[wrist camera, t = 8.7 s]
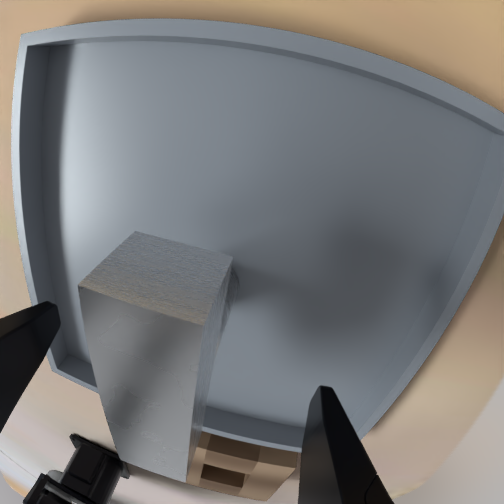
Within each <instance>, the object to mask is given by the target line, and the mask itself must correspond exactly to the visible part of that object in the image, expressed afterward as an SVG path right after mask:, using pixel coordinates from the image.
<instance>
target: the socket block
mask: <svg viewBox="0 0 504 504" xmlns="http://www.w3.org/2000/svg"><path fill="white" fill-rule="evenodd" d="M297 453H298V452H294V451H288V450H282V449H277V448H271V447H266V446H261V445H257V444H252V443H247V442H243V441H239V440H235V439H230V438H226V437H223V436H219V435H215V434H211V433H208V432H204V431H202V433H201V436H200V439H199V442H198V445H197V448H196V452H195V455H194V458H193V461H192V464H191V467H190V470H189V474H188V477H187V480H186V483H187V484H191V485H194V486H198V487H201V488H205V489H209V490H213V491H217V492H221V493H225V494H230V495H234V496H239V497H244V498H249V499H254V500H260V501H267V500H268V499H269V498H270V497H271V496H272V495H273V494H274V493H275V491H276V490H277V489H278V488H279V487H280V486H281V485H282V484H283V483H284V481H285V480H286V479H287V478H288V477H289V476H290V475H291V474H292V472H293V471H294V470H295V469H296V462H297ZM171 479H172V478H171ZM174 480H175V479H174ZM177 481H178V480H177ZM180 482H182V481H180ZM184 483H185V482H184Z"/></svg>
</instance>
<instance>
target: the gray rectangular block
mask: <svg viewBox="0 0 504 504" xmlns="http://www.w3.org/2000/svg"><path fill="white" fill-rule="evenodd" d="M233 258H234V256H232V255H228V254H224V253H220V252H216V251H212V250H208V249H204V248H200V247H196V246H192V245H188V244H184V243H180V242H177V241H173V240H169V239H165V238H161V237H157V236H153V235H149V234H145V233H141V232H137V231H135V232H134V233H132V234H131V235H130V236H129V237H128V238H127V239H126V240H125V241H123V242H122V243H121V244H120V245H119V246H118V247H117V248H116V249H115V250H114V251H113V252H111V253H110V254H109V255H108V256H107V257H106V258H105V259H104V260H103V261H102V262H101V263H100V264H99V265H98V266H96V267H95V268H94V269H93V270H92V271H91V272H90V273H89V274H88V275H87V276H86V277H85V278H84V279H83V280H82V281H81V282H80V283H79V284H78V292H79V299H80V306H81V312H82V318H83V324H84V329H85V335H86V340H87V345H88V350H89V354H90V359H91V363H92V367H93V372H94V376H95V380H96V384H97V388H98V391H99V395H100V399H101V402H102V406H103V409H104V413H105V416H106V419H107V422H108V426H109V429H110V432H111V435H112V438H113V441H114V444H115V447H116V449H117V452H118V455H119V458H120V460H122V461H125V462H127V463H130V464H132V465H135V466H137V467H140V468H143V469H145V470H148V471H151V472H154V473H157V474H160V475H163V476H166V477H169V478H172V479H175V480H178V481H182V482H185V483H186V480H187V477H188V474H189V470H190V467H191V464H192V461H193V458H194V455H195V452H196V448H197V445H198V442H199V439H200V436H201V433H202V429H203V423H204V417H205V411H206V405H207V400H208V394H209V388H210V382H211V377H212V371H213V366H214V360H215V357H216V354H217V351H218V348H219V345H220V342H221V340H222V337H223V334H224V331H225V328H226V325H227V322H228V319H229V316H230V313H231V310H232V308H233V305H234V302H235V299H236V296H237V293H238V290H239V279H238V276H237V274H236V272H235V271H234V269H233V268H232V263H233Z"/></svg>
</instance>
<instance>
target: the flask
mask: <svg viewBox="0 0 504 504" xmlns="http://www.w3.org/2000/svg"><path fill="white" fill-rule="evenodd" d="M62 474H63V473H61V472H59V471H55V470H53V471H49V472H48V474H47V475H49V476H50V477H51V478H52V479H54V480H55V481H57V482H58V481H59V479H60V478H61V476H62ZM48 490H49V491H52V492H53V493H55V494H57V495H58V496H60V497H62V498H63V499H65V500H67V501H68V502H70V503H71V500H70V499H68V498H66V497H65V496H63V495H61V494H60V493H58V492H56V491H55V490H53V489H52V488H50V487H49V488H48Z"/></svg>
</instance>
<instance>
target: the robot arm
mask: <svg viewBox="0 0 504 504" xmlns="http://www.w3.org/2000/svg"><path fill="white" fill-rule="evenodd" d="M60 326H61V319H60V315H59V310H58V306H57V305H56V304H55V303H53V302H50V301H44V302H42V303H39V304H37V305H34V306H31V307H29V308H26V309H24V310H21V311H19V312H16V313H13V314H11V315H8V316H6V317H3V318H1V319H0V433H1V431H2V429H3V427H4V425H5V424H6V422H7V420H8V418H9V416H10V415H11V413H12V411H13V409H14V408H15V406H16V404H17V402H18V401H19V399H20V397H21V395H22V394H23V392H24V390H25V389H26V387H27V385H28V384H29V382H30V380H31V379H32V377H33V376H34V374H35V372H36V371H37V369H38V368H39V366H40V364H41V363H42V361H43V359H44V357H45V356H46V354H47V352H48V350H49V348H50V346H51V344H52V342H53V340H54V338H55V336H56V334H57V332H58V331H59V329H60ZM70 439H71V441H72V443H73V445H74V446H75V448H76V450H75V452H74V454H73V455H72V457H71V459H70V461H69V463H68V465H67V466H66V468H65V470H64V472H63V474H62V476H61V478H60V479H59V481H58V482H57V481H55V480H54V479H52V478H51V477H50V476H49V475H47V474H46V475H45V474H43V473H41V474H40V476H39V478H38V480H37V481H36V483H35V485H34V486H33V487H32V489H31V490H30V492H29V493H28V494H27V496H26V497H25V499H24V500H23V504H72V503H70V502H68V501H67V500H65V499H63V498H62V497H60V496H58V495H57V494H55V493H53V492H52V491H49V490H48V488H49V487H50V488H52V489H53V490H55V491H56V492H58V493H60V494H61V495H63V496H65V497H66V498H68V499H70V500H71V501H73V502H75V503H77V504H108V503H109V501H110V499H111V496H112V494H113V492H114V489H115V487H116V485H117V483H118V480H119V478H120V476H121V477H123V478H126V479H129V477H130V475H129V472H128V470H127V467H126V464H125V461H122V460H120V458H119V456H118V455H116V454H113V453H111V452H109V451H107V450H104V449H102V448H100V447H98V446H96V445H94V444H91V443H89V442H87V441H85V440H83V439H81V438H79V437H77V436H75V435H73V434H71V435H70ZM298 504H394V502H393V501H392V499H391V498H390V496H389V494H388V492H387V491H386V489H385V487H384V485H383V483H382V481H381V480H380V478H379V476H378V475H377V472H376V470H375V468H374V466H373V464H372V462H371V460H370V458H369V456H368V454H367V453H366V451H365V449H364V447H363V445H362V443H361V441H360V439H359V437H358V435H357V433H356V431H355V429H354V427H353V425H352V424H351V422H350V420H349V418H348V416H347V414H346V412H345V410H344V408H343V406H342V404H341V402H340V401H339V399H338V397H337V395H336V393H335V391H334V389H333V388H332V387H329V386H324V385H320V386H319V387H318V388H317V390H316V392H315V393H314V395H313V397H312V399H311V401H310V404H309V409H308V415H307V421H306V426H305V432H304V438H303V443H302V452H301V468H300V483H299V496H298Z"/></svg>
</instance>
